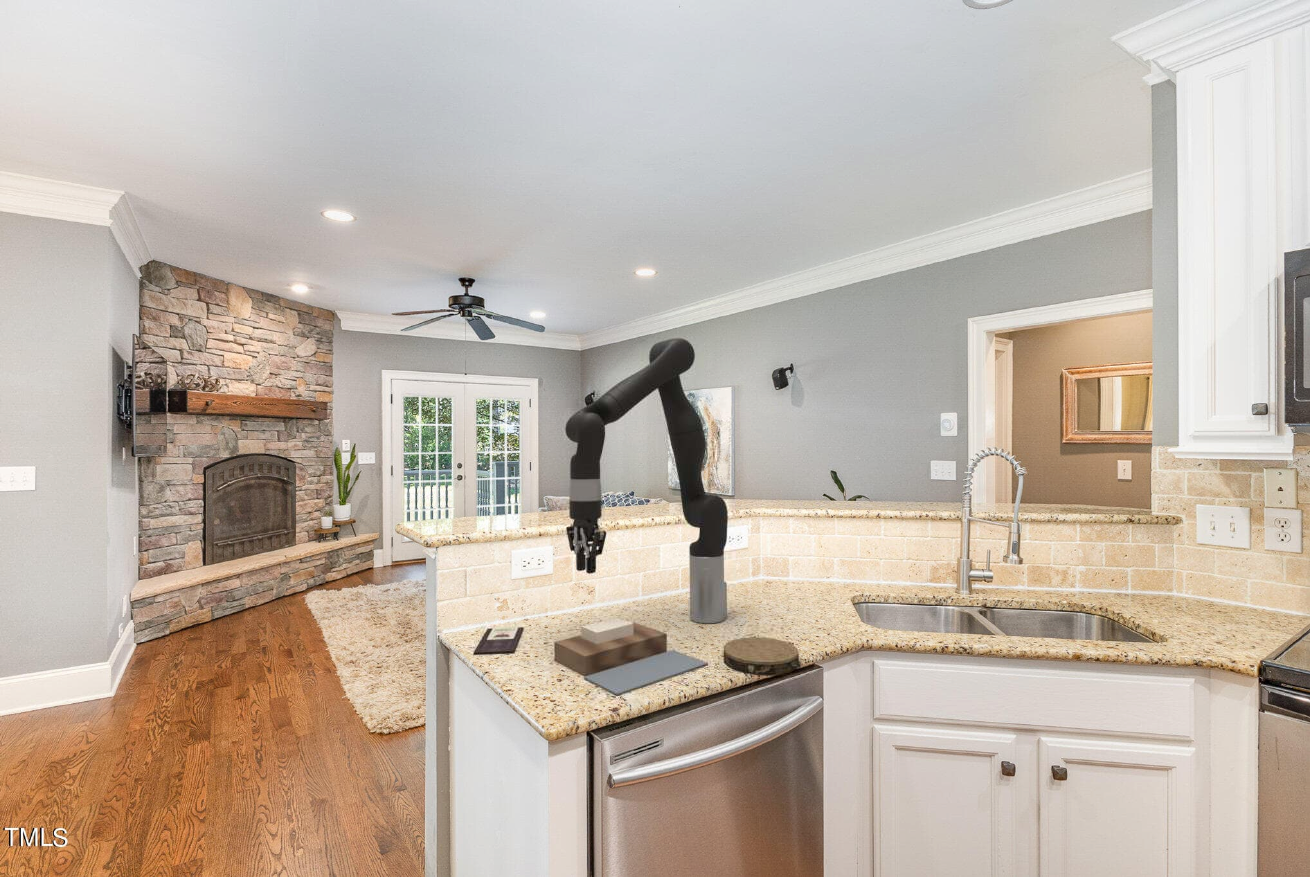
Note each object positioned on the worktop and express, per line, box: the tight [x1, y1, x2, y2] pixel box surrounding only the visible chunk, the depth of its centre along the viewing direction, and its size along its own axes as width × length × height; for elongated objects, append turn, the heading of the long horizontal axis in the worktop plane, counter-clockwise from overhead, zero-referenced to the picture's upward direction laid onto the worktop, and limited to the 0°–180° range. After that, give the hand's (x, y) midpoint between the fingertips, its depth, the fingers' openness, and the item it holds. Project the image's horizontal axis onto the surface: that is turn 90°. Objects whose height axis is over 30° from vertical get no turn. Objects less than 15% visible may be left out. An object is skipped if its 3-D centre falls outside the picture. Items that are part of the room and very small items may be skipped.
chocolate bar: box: [473, 626, 525, 656], centre depth 145 cm, size 9×1×18 cm
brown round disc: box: [723, 636, 800, 677], centre depth 130 cm, size 16×16×3 cm
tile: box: [580, 617, 633, 644], centre depth 136 cm, size 10×6×2 cm, turn 130°
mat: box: [583, 649, 709, 697], centre depth 125 cm, size 24×11×1 cm, turn 130°
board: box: [553, 622, 668, 677], centre depth 135 cm, size 22×12×4 cm, turn 130°
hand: (585, 571), depth 142 cm, fingers open, 3 cm apart
